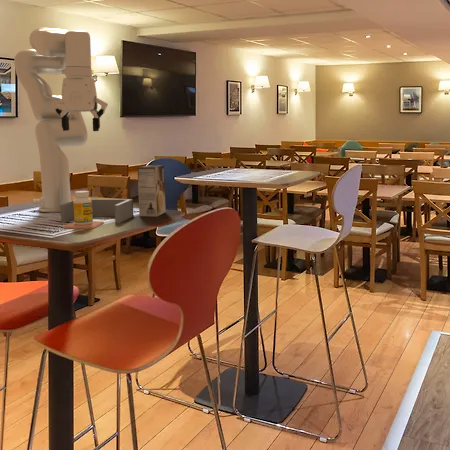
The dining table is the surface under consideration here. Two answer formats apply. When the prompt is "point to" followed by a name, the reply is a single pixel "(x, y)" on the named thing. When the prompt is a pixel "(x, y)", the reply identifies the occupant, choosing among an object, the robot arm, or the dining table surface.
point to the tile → (89, 226)
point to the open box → (102, 209)
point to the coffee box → (151, 190)
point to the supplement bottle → (82, 208)
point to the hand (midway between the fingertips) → (81, 130)
